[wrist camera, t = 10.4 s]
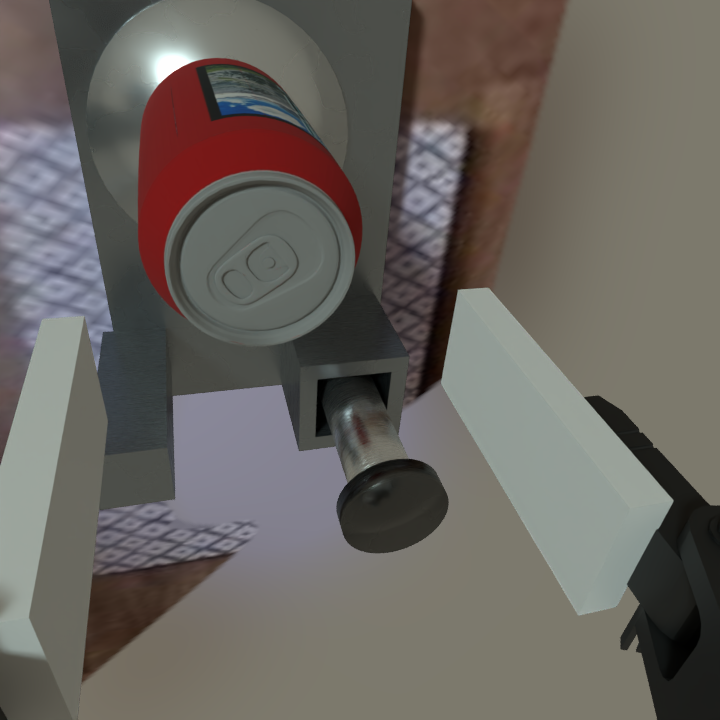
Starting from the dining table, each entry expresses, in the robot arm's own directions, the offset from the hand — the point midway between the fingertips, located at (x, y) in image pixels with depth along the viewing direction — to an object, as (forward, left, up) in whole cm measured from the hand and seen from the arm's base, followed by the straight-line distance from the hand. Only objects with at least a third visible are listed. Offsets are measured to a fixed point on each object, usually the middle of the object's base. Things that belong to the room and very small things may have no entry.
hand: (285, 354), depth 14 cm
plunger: (+5, -11, -13) cm, 18 cm away
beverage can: (0, 0, -17) cm, 17 cm away
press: (+1, -4, -18) cm, 19 cm away
